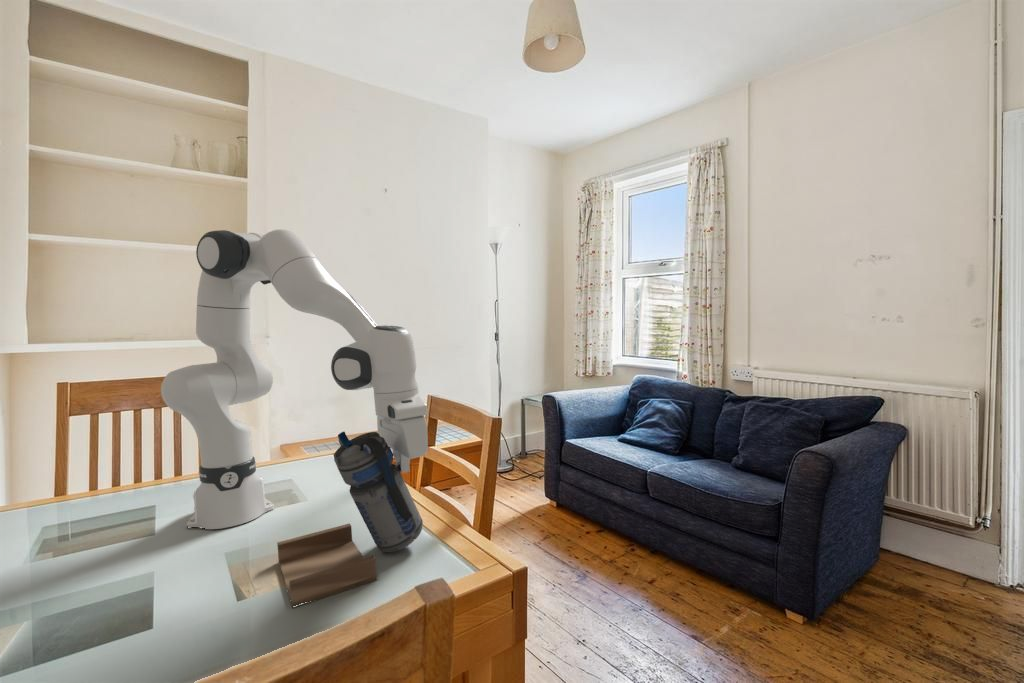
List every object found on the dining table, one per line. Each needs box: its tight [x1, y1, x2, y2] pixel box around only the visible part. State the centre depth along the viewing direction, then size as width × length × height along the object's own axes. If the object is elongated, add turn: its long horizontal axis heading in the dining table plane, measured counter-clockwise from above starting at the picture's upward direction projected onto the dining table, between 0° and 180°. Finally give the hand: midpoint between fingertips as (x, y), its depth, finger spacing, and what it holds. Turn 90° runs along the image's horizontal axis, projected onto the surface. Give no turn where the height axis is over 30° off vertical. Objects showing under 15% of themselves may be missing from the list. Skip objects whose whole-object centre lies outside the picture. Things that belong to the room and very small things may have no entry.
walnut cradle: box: [276, 523, 378, 608], centre depth 91 cm, size 19×14×4 cm
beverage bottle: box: [333, 431, 423, 553], centre depth 96 cm, size 10×13×25 cm
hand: (403, 470), depth 98 cm, fingers closed
